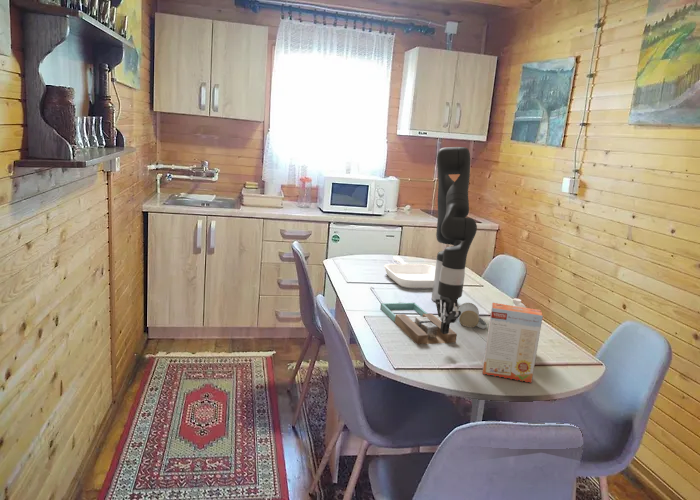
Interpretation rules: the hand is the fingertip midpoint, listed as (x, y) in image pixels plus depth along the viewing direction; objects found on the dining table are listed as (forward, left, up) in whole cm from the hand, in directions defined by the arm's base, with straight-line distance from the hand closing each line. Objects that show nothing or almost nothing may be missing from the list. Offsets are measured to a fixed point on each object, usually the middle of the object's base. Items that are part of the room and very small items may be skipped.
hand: (444, 332), depth 169 cm
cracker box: (-12, +18, -7) cm, 23 cm away
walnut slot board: (0, -14, -6) cm, 15 cm away
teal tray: (0, -31, -6) cm, 31 cm away
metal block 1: (0, -16, -5) cm, 17 cm away
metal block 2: (0, -10, -5) cm, 11 cm away
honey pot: (-25, +2, -7) cm, 26 cm away
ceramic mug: (-23, -20, -7) cm, 31 cm away
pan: (-26, -84, -7) cm, 88 cm away
